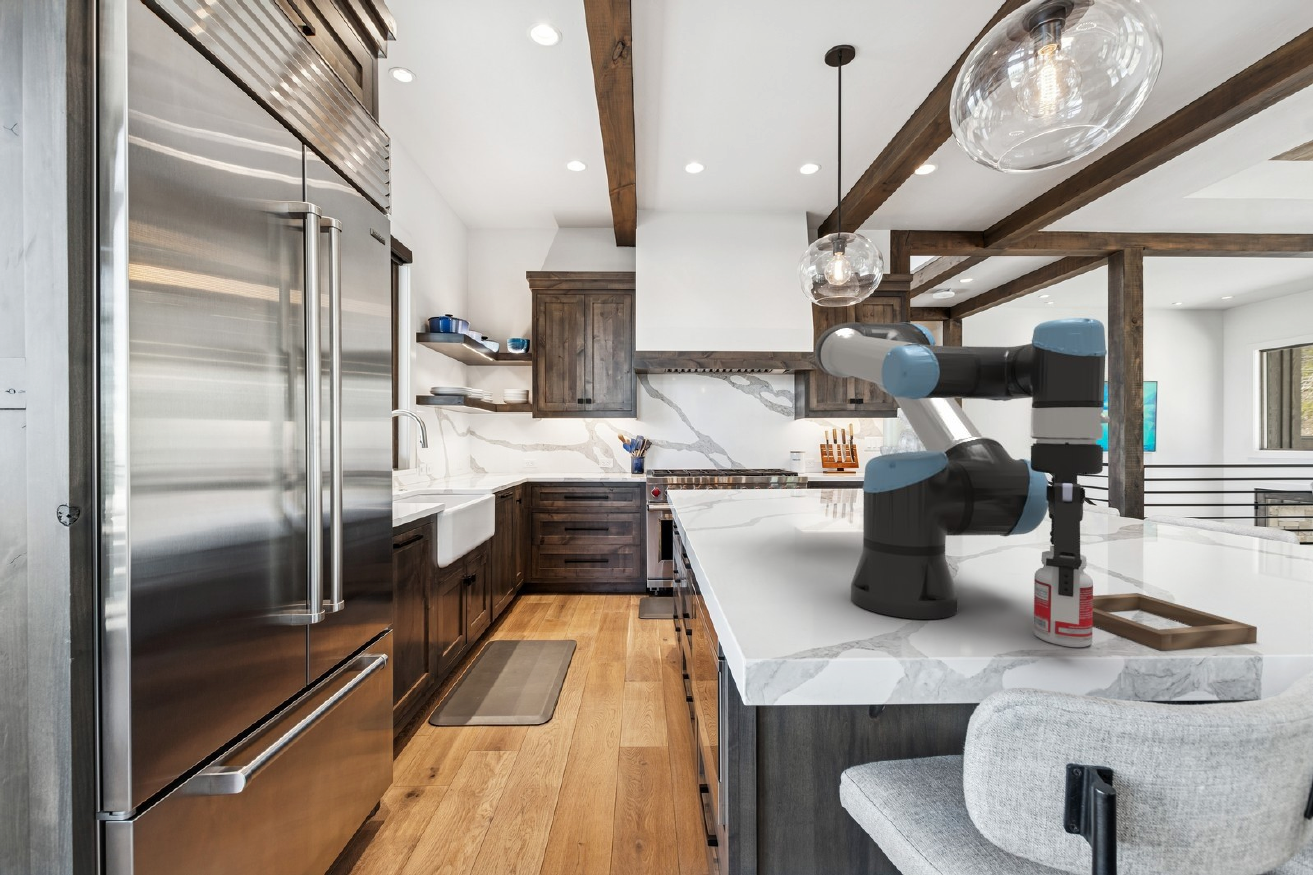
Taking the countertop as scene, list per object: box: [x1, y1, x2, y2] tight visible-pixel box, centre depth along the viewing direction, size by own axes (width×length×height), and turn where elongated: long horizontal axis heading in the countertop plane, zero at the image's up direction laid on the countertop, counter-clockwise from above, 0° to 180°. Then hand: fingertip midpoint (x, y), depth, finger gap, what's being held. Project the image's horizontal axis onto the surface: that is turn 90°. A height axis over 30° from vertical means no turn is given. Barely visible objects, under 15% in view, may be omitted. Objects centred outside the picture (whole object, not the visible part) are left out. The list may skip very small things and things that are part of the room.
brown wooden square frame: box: [1092, 592, 1258, 651], centre depth 79 cm, size 15×15×2 cm
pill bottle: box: [1033, 550, 1094, 648], centre depth 74 cm, size 6×6×11 cm
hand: (1062, 606), depth 74 cm, fingers open, 13 cm apart
